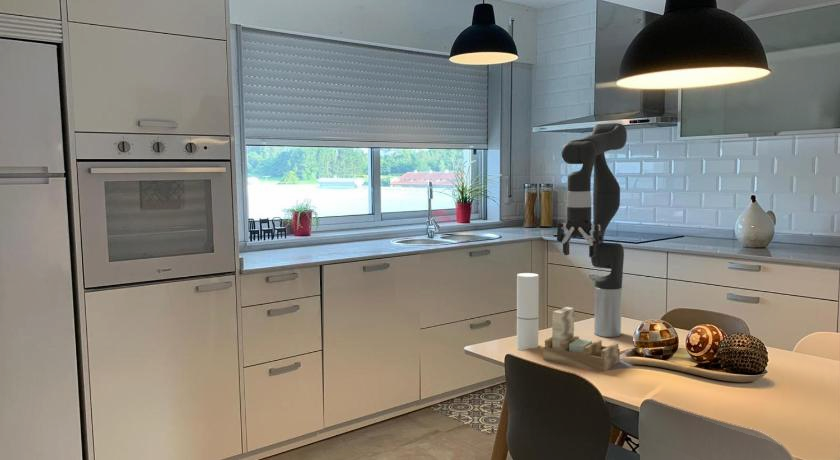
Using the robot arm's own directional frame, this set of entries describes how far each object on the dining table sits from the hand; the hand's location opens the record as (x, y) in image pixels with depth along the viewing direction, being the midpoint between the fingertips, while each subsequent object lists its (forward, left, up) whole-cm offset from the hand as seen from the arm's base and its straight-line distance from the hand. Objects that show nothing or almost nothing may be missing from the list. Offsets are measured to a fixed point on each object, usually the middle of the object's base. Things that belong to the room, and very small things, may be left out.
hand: (579, 256), depth 207 cm
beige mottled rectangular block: (+7, -2, -31) cm, 32 cm away
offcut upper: (+8, +5, -28) cm, 30 cm away
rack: (+8, +5, -32) cm, 34 cm away
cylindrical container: (+3, -17, -33) cm, 37 cm away
